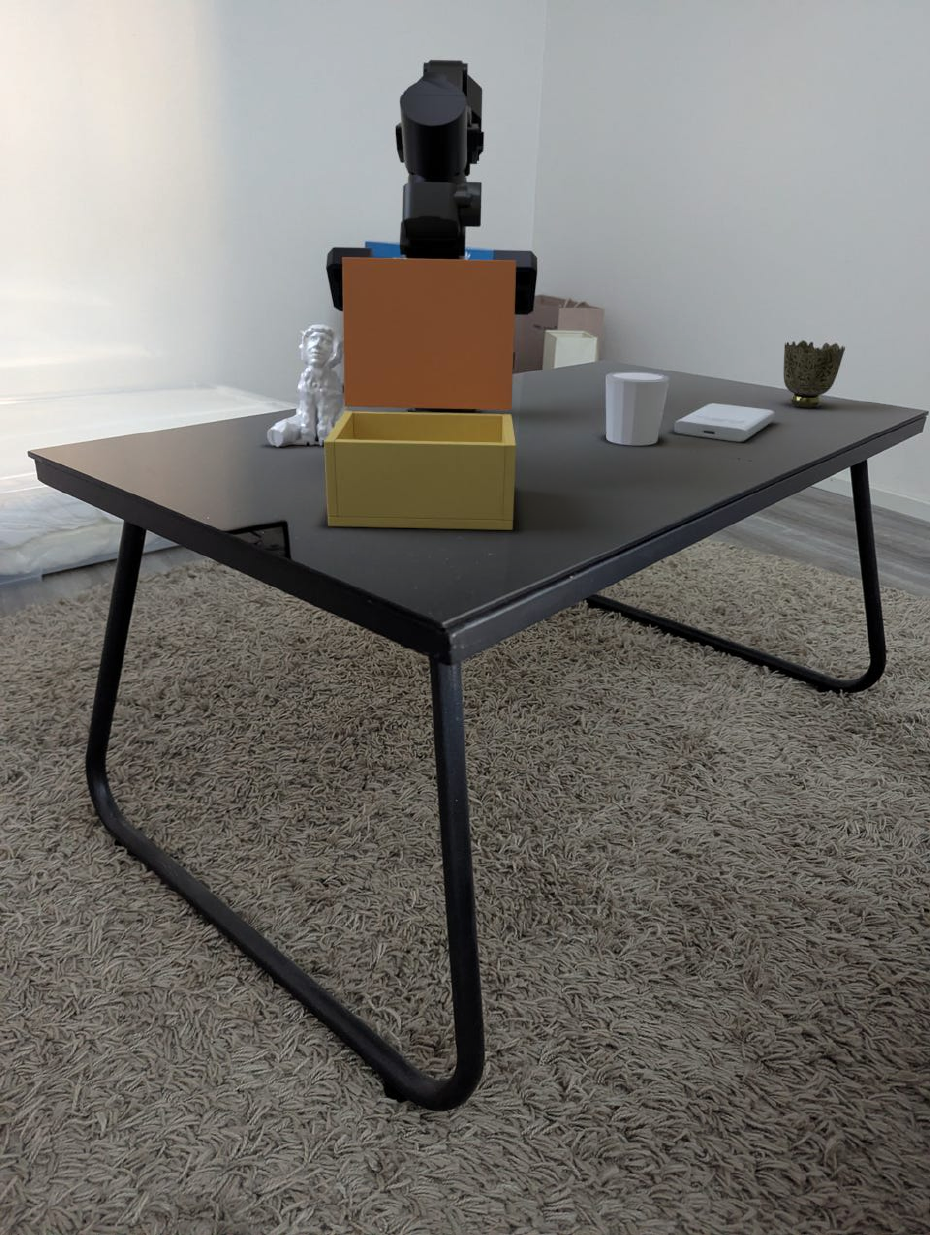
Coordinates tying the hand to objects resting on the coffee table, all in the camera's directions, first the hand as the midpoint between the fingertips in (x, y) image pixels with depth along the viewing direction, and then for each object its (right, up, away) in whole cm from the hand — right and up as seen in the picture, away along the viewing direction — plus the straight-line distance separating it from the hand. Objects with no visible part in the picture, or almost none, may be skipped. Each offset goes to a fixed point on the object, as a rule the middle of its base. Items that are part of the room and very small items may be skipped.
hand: (429, 357), depth 79 cm
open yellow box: (0, -13, -3) cm, 14 cm away
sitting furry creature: (-13, -4, +19) cm, 23 cm away
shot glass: (+22, -3, +21) cm, 31 cm away
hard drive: (+34, -1, +28) cm, 44 cm away
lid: (0, +1, -2) cm, 3 cm away
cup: (+48, +5, +41) cm, 64 cm away
